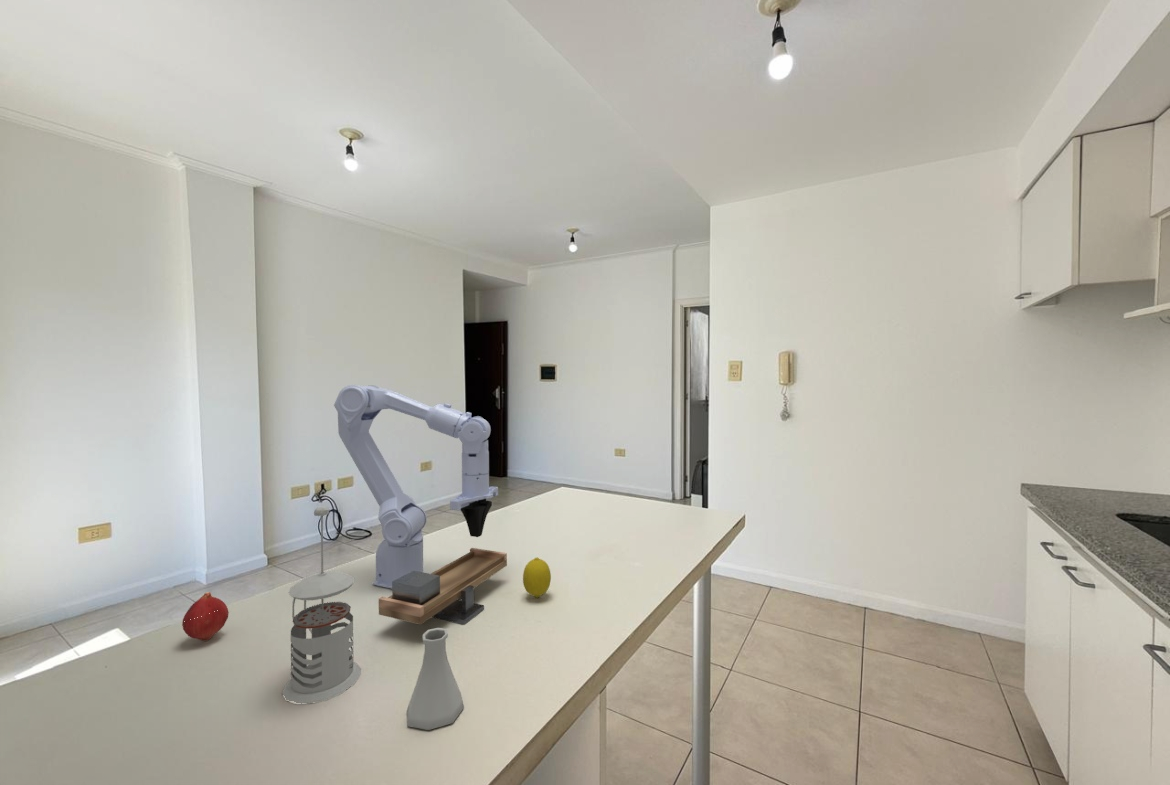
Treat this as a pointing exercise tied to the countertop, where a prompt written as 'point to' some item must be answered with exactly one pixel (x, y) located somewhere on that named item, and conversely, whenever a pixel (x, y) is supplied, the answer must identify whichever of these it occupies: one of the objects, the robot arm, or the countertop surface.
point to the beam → (448, 585)
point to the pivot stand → (461, 608)
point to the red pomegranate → (205, 617)
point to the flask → (434, 686)
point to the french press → (321, 637)
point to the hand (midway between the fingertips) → (475, 535)
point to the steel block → (416, 587)
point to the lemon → (536, 577)
